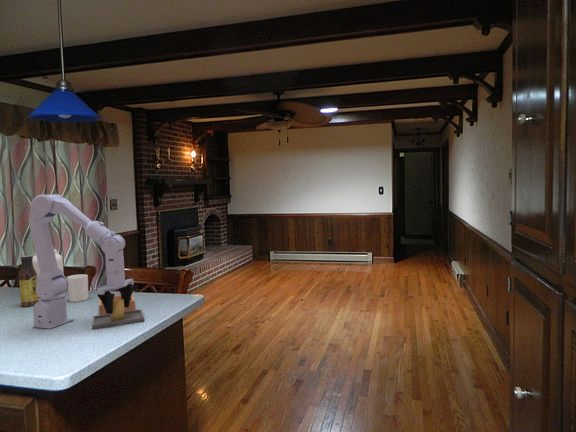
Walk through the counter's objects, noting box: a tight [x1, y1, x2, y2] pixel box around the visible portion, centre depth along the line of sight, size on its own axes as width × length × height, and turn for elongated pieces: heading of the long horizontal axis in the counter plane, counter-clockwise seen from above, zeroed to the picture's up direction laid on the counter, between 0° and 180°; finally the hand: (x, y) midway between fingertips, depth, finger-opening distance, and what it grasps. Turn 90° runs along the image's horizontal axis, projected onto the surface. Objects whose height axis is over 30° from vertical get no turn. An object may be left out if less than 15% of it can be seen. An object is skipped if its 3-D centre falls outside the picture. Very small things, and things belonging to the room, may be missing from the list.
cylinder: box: [111, 299, 125, 321], centre depth 142 cm, size 4×4×6 cm
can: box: [32, 248, 64, 299], centre depth 184 cm, size 12×12×20 cm
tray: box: [91, 309, 145, 330], centre depth 142 cm, size 11×16×1 cm
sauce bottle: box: [18, 255, 40, 307], centre depth 167 cm, size 7×6×20 cm
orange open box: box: [98, 293, 136, 315], centre depth 156 cm, size 12×12×4 cm
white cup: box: [66, 273, 89, 303], centre depth 172 cm, size 8×8×10 cm
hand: (117, 310), depth 142 cm, fingers open, 7 cm apart
